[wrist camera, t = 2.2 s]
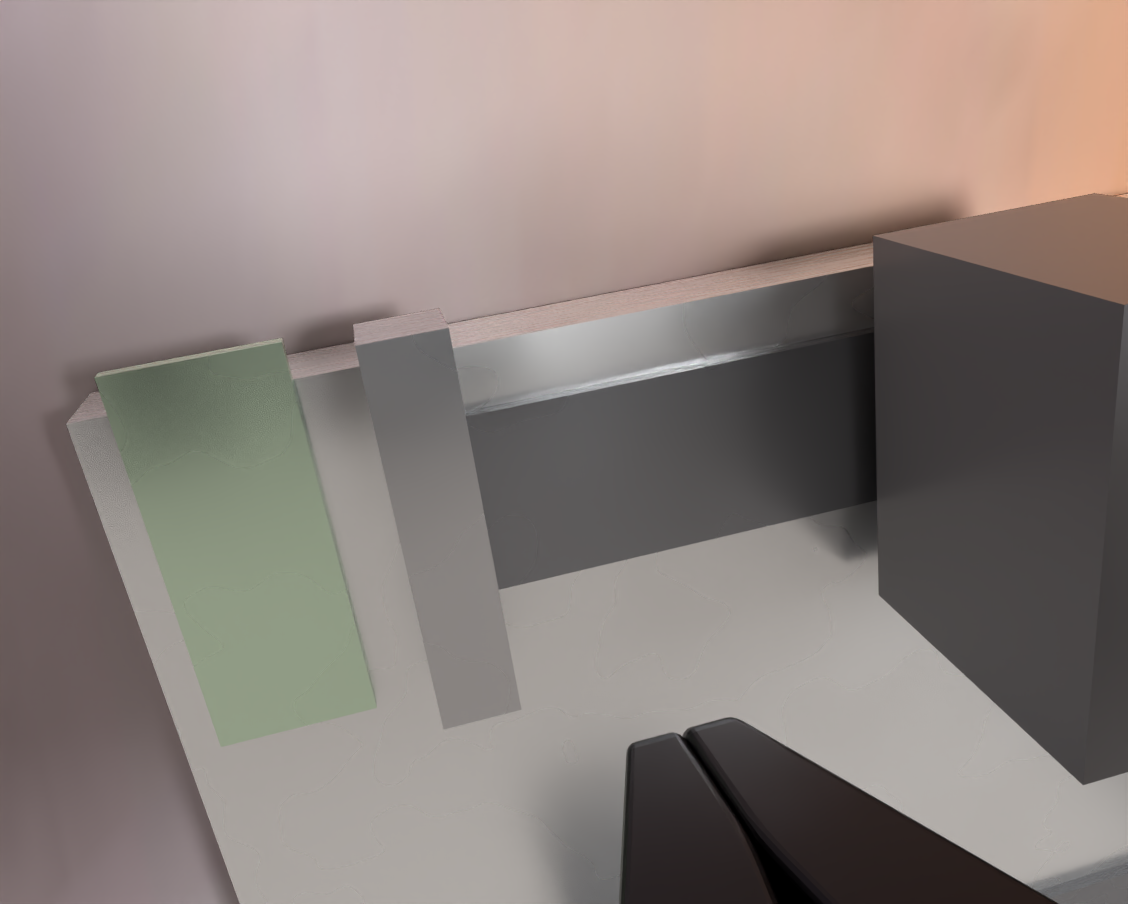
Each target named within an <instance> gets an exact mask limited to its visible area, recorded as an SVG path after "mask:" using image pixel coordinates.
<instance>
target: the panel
mask: <svg viewBox="0 0 1128 904" xmlns="http://www.w3.org/2000/svg"><path fill="white" fill-rule="evenodd" d="M1117 197H1124V198H1128V194H1123V195H1118V196H1117ZM353 330H354V341H355V342H352V343H347V344H342V345H336V346H331V347H326V348H321V349H316V350H310V351H305V352H300V353H295V354H289V355H287V354H286V350H285V346H284V342H283V338H278V339H273V340H268V341H262V342H257V343H252V344H247V345H241V346H236V347H231V348H225V349H220V350H215V351H210V352H204V353H199V354H194V355H188V356H183V357H178V358H173V359H167V360H162V361H157V362H151V363H146V364H141V365H136V366H130V367H125V368H120V369H114V370H109V371H104V372H99V373H97V375H96V376H95V377H94V379H95V381H96V384H97V387H98V390H99V391H97V392H92V393H90V394H89V396H88V397H87V398H86V399H85V401H84V402H83V403H82V404H81V406H80V407H79V408H78V409H77V411H76V412H75V413H74V414H73V416H72V417H71V418H70V420H69V421H68V422H67V423H66V426H67V428H68V431H69V434H70V437H71V439H72V442H73V445H74V448H75V450H76V453H77V456H78V459H79V461H80V464H81V467H82V470H83V472H84V475H85V478H86V481H87V484H88V486H89V489H90V492H91V495H92V497H93V500H94V503H95V506H96V508H97V511H98V514H99V517H100V519H101V522H102V525H103V528H104V531H105V533H106V536H107V539H108V542H109V544H110V547H111V550H112V553H113V555H114V558H115V561H116V564H117V566H118V569H119V572H120V575H121V577H122V580H123V583H124V586H125V589H126V591H127V594H128V597H129V600H130V602H131V605H132V608H133V611H134V613H135V616H136V619H137V622H138V624H139V627H140V630H141V633H142V635H143V638H144V641H145V644H146V647H147V649H148V652H149V655H150V658H151V660H152V663H153V666H154V669H155V671H156V674H157V677H158V680H159V682H160V685H161V688H162V691H163V694H164V696H165V699H166V702H167V705H168V707H169V710H170V713H171V716H172V718H173V721H174V724H175V727H176V729H177V732H178V735H179V738H180V740H181V743H182V746H183V749H184V752H185V754H186V757H187V760H188V763H189V765H190V768H191V771H192V774H193V776H194V779H195V782H196V785H197V787H198V790H199V793H200V796H201V798H202V801H203V804H204V807H205V810H206V812H207V815H208V818H209V821H210V823H211V826H212V829H213V832H214V834H215V837H216V840H217V843H218V845H219V848H220V851H221V854H222V857H223V859H224V862H225V865H226V868H227V870H228V873H229V876H230V879H231V881H232V884H233V887H234V890H235V892H236V895H237V898H238V901H239V903H240V904H619V886H620V867H621V847H622V828H623V808H624V789H625V769H626V752H627V749H628V747H629V745H630V744H631V743H633V742H636V741H640V740H644V739H647V738H651V737H655V736H659V735H662V734H666V733H670V732H674V733H677V734H680V735H681V736H682V735H683V733H684V732H685V731H686V729H687V728H689V727H692V726H696V725H700V724H704V723H707V722H711V721H715V720H719V719H722V718H727V717H733V718H737V719H740V720H742V721H744V722H745V723H747V724H749V725H751V726H752V727H754V728H756V729H758V730H759V731H761V732H763V733H765V734H766V735H768V736H770V737H771V738H773V739H775V740H777V741H778V742H780V743H782V744H784V745H785V746H787V747H789V748H790V749H792V750H794V751H796V752H797V753H799V754H801V755H803V756H804V757H806V758H808V759H810V760H811V761H813V762H815V763H816V764H818V765H820V766H822V767H823V768H825V769H827V770H829V771H830V772H832V773H834V774H835V775H837V776H839V777H841V778H842V779H844V780H846V781H848V782H849V783H851V784H853V785H855V786H856V787H858V788H860V789H861V790H863V791H865V792H867V793H868V794H870V795H872V796H874V797H875V798H877V799H879V800H880V801H882V802H884V803H886V804H887V805H889V806H891V807H893V808H894V809H896V810H898V811H900V812H901V813H903V814H905V815H906V816H908V817H910V818H912V819H913V820H915V821H917V822H919V823H920V824H922V825H924V826H925V827H927V828H929V829H931V830H932V831H934V832H936V833H938V834H939V835H941V836H943V837H945V838H946V839H948V840H950V841H951V842H953V843H955V844H957V845H958V846H960V847H962V848H964V849H965V850H967V851H969V852H970V853H972V854H974V855H976V856H977V857H979V858H981V859H983V860H984V861H986V862H988V863H990V864H991V865H993V866H995V867H996V868H998V869H1000V870H1002V871H1003V872H1005V873H1007V874H1009V875H1010V876H1012V877H1014V878H1015V879H1017V880H1019V881H1021V882H1022V883H1024V884H1026V885H1028V886H1029V887H1031V888H1033V889H1035V890H1036V891H1038V892H1040V893H1041V894H1043V895H1045V896H1047V897H1048V898H1050V899H1052V900H1054V901H1055V902H1057V903H1059V904H1128V772H1127V773H1123V774H1120V775H1116V776H1113V777H1110V778H1106V779H1103V780H1100V781H1096V782H1093V783H1089V784H1086V785H1082V784H1081V783H1080V782H1079V781H1078V780H1077V779H1076V778H1075V777H1074V776H1072V775H1071V774H1070V773H1069V772H1068V771H1067V770H1066V769H1065V768H1064V767H1063V766H1062V765H1061V764H1060V763H1059V762H1057V761H1056V760H1055V759H1054V758H1053V757H1052V756H1051V755H1050V754H1049V753H1048V752H1047V751H1046V750H1045V749H1043V748H1042V747H1041V746H1040V745H1039V744H1038V743H1037V742H1036V741H1035V740H1034V739H1033V738H1032V737H1031V736H1030V735H1028V734H1027V733H1026V732H1025V731H1024V730H1023V729H1022V728H1021V727H1020V726H1019V725H1018V724H1017V723H1016V722H1014V721H1013V720H1012V719H1011V718H1010V717H1009V716H1008V715H1007V714H1006V713H1005V712H1004V711H1003V710H1002V709H1001V708H999V707H998V706H997V705H996V704H995V703H994V702H993V701H992V700H991V699H990V698H989V697H988V696H987V695H985V694H984V693H983V692H982V691H981V690H980V689H979V688H978V687H977V686H976V685H975V684H974V683H973V682H972V681H970V680H969V679H968V678H967V677H966V676H965V675H964V674H963V673H962V672H961V671H960V670H959V669H958V668H956V667H955V666H954V665H953V664H952V663H951V662H950V661H949V660H948V659H947V658H946V657H945V656H944V655H943V654H941V653H940V652H939V651H938V650H937V649H936V648H935V647H934V646H933V645H932V644H931V643H930V642H929V641H927V640H926V639H925V638H924V637H923V636H922V635H921V634H920V633H919V632H918V631H917V630H916V629H915V628H914V627H912V626H911V625H910V624H909V623H908V622H907V621H906V620H905V619H904V618H903V617H902V616H901V615H900V614H898V613H897V612H896V611H895V610H894V609H893V608H892V607H891V606H890V605H889V604H888V603H887V602H886V601H885V600H883V599H882V598H881V597H880V596H879V592H878V528H877V465H876V402H875V338H874V275H873V243H868V244H862V245H857V246H852V247H847V248H842V249H836V250H831V251H826V252H821V253H816V254H810V255H805V256H800V257H795V258H789V259H784V260H779V261H774V262H769V263H763V264H758V265H753V266H748V267H743V268H737V269H732V270H727V271H722V272H717V273H711V274H706V275H701V276H696V277H691V278H685V279H680V280H675V281H670V282H664V283H659V284H654V285H649V286H644V287H638V288H633V289H628V290H623V291H618V292H612V293H607V294H602V295H597V296H592V297H586V298H581V299H576V300H571V301H566V302H560V303H555V304H550V305H545V306H539V307H534V308H529V309H524V310H519V311H513V312H508V313H503V314H498V315H493V316H487V317H482V318H477V319H472V320H467V321H461V322H456V323H451V324H447V323H446V321H445V319H444V317H443V315H442V313H441V311H440V308H437V309H432V310H426V311H421V312H416V313H410V314H405V315H400V316H395V317H389V318H384V319H379V320H373V321H368V322H363V323H358V324H353Z"/></svg>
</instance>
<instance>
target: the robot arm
mask: <svg viewBox="0 0 1128 904" xmlns="http://www.w3.org/2000/svg"><path fill="white" fill-rule="evenodd" d="M619 904H1059V903H1057V902H1055V901H1054V900H1052V899H1050V898H1048V897H1047V896H1045V895H1043V894H1041V893H1040V892H1038V891H1036V890H1035V889H1033V888H1031V887H1029V886H1028V885H1026V884H1024V883H1022V882H1021V881H1019V880H1017V879H1015V878H1014V877H1012V876H1010V875H1009V874H1007V873H1005V872H1003V871H1002V870H1000V869H998V868H996V867H995V866H993V865H991V864H990V863H988V862H986V861H984V860H983V859H981V858H979V857H977V856H976V855H974V854H972V853H970V852H969V851H967V850H965V849H964V848H962V847H960V846H958V845H957V844H955V843H953V842H951V841H950V840H948V839H946V838H945V837H943V836H941V835H939V834H938V833H936V832H934V831H932V830H931V829H929V828H927V827H925V826H924V825H922V824H920V823H919V822H917V821H915V820H913V819H912V818H910V817H908V816H906V815H905V814H903V813H901V812H900V811H898V810H896V809H894V808H893V807H891V806H889V805H887V804H886V803H884V802H882V801H880V800H879V799H877V798H875V797H874V796H872V795H870V794H868V793H867V792H865V791H863V790H861V789H860V788H858V787H856V786H855V785H853V784H851V783H849V782H848V781H846V780H844V779H842V778H841V777H839V776H837V775H835V774H834V773H832V772H830V771H829V770H827V769H825V768H823V767H822V766H820V765H818V764H816V763H815V762H813V761H811V760H810V759H808V758H806V757H804V756H803V755H801V754H799V753H797V752H796V751H794V750H792V749H790V748H789V747H787V746H785V745H784V744H782V743H780V742H778V741H777V740H775V739H773V738H771V737H770V736H768V735H766V734H765V733H763V732H761V731H759V730H758V729H756V728H754V727H752V726H751V725H749V724H747V723H745V722H744V721H742V720H740V719H737V718H733V717H727V718H722V719H719V720H715V721H711V722H707V723H704V724H700V725H696V726H692V727H689V728H687V729H686V731H685V732H684V733H683V735H682V736H681V735H680V734H677V733H674V732H670V733H666V734H662V735H659V736H655V737H651V738H647V739H644V740H640V741H636V742H633V743H631V744H630V745H629V747H628V749H627V752H626V769H625V789H624V808H623V828H622V847H621V867H620V886H619Z"/></svg>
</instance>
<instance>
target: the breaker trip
mask: <svg viewBox="0 0 1128 904" xmlns="http://www.w3.org/2000/svg"><path fill="white" fill-rule="evenodd" d="M873 275H874V338H875V402H876V465H877V528H878V592H879V596H880V597H881V598H882V599H883V600H885V601H886V602H887V603H888V604H889V605H890V606H891V607H892V608H893V609H894V610H895V611H896V612H897V613H898V614H900V615H901V616H902V617H903V618H904V619H905V620H906V621H907V622H908V623H909V624H910V625H911V626H912V627H914V628H915V629H916V630H917V631H918V632H919V633H920V634H921V635H922V636H923V637H924V638H925V639H926V640H927V641H929V642H930V643H931V644H932V645H933V646H934V647H935V648H936V649H937V650H938V651H939V652H940V653H941V654H943V655H944V656H945V657H946V658H947V659H948V660H949V661H950V662H951V663H952V664H953V665H954V666H955V667H956V668H958V669H959V670H960V671H961V672H962V673H963V674H964V675H965V676H966V677H967V678H968V679H969V680H970V681H972V682H973V683H974V684H975V685H976V686H977V687H978V688H979V689H980V690H981V691H982V692H983V693H984V694H985V695H987V696H988V697H989V698H990V699H991V700H992V701H993V702H994V703H995V704H996V705H997V706H998V707H999V708H1001V709H1002V710H1003V711H1004V712H1005V713H1006V714H1007V715H1008V716H1009V717H1010V718H1011V719H1012V720H1013V721H1014V722H1016V723H1017V724H1018V725H1019V726H1020V727H1021V728H1022V729H1023V730H1024V731H1025V732H1026V733H1027V734H1028V735H1030V736H1031V737H1032V738H1033V739H1034V740H1035V741H1036V742H1037V743H1038V744H1039V745H1040V746H1041V747H1042V748H1043V749H1045V750H1046V751H1047V752H1048V753H1049V754H1050V755H1051V756H1052V757H1053V758H1054V759H1055V760H1056V761H1057V762H1059V763H1060V764H1061V765H1062V766H1063V767H1064V768H1065V769H1066V770H1067V771H1068V772H1069V773H1070V774H1071V775H1072V776H1074V777H1075V778H1076V779H1077V780H1078V781H1079V782H1080V783H1081V784H1082V785H1086V784H1089V783H1093V782H1096V781H1100V780H1103V779H1106V778H1110V777H1113V776H1116V775H1120V774H1123V773H1127V772H1128V198H1124V197H1117V196H1110V195H1103V194H1095V193H1094V194H1088V195H1083V196H1078V197H1073V198H1067V199H1062V200H1057V201H1052V202H1046V203H1041V204H1036V205H1031V206H1026V207H1020V208H1015V209H1010V210H1005V211H999V212H994V213H989V214H984V215H978V216H973V217H968V218H963V219H957V220H952V221H947V222H942V223H936V224H931V225H926V226H921V227H915V228H910V229H905V230H900V231H895V232H889V233H884V234H879V235H874V236H873Z"/></svg>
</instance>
